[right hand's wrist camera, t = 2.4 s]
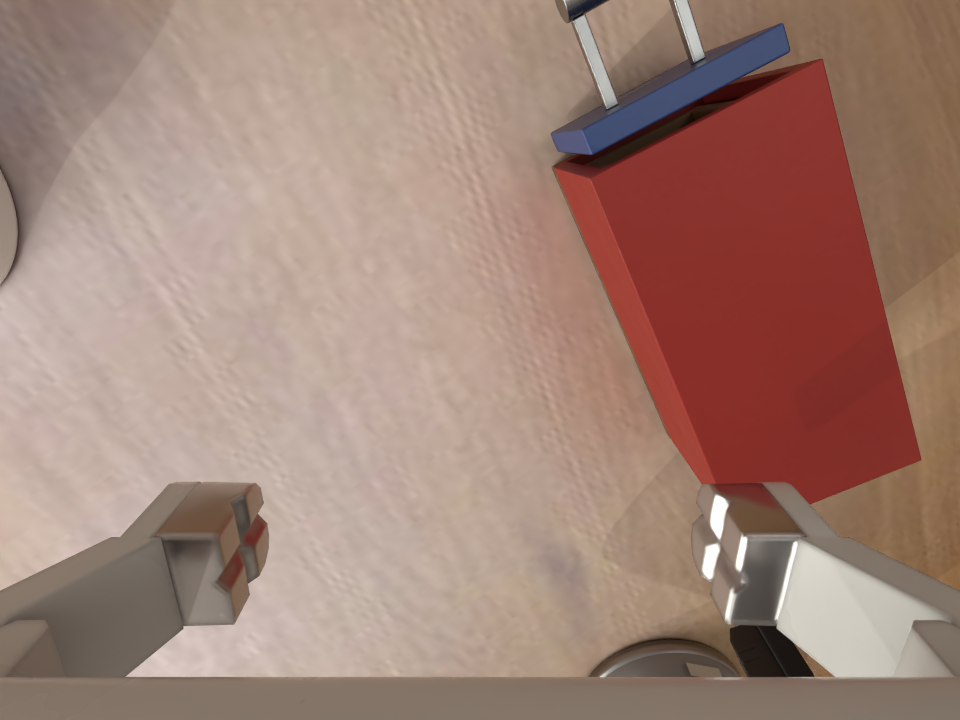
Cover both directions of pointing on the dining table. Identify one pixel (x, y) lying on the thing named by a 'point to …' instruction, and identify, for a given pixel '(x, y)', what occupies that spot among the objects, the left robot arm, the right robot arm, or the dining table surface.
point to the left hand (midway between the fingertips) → (879, 509)
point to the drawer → (658, 85)
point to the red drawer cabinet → (751, 288)
